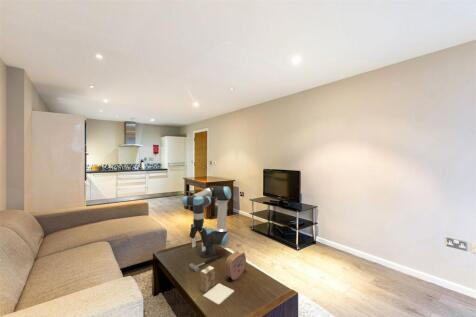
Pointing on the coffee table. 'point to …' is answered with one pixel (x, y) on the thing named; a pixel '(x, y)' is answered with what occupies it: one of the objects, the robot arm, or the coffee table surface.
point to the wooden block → (207, 278)
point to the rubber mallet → (196, 267)
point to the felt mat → (218, 293)
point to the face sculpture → (235, 265)
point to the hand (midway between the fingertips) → (198, 248)
